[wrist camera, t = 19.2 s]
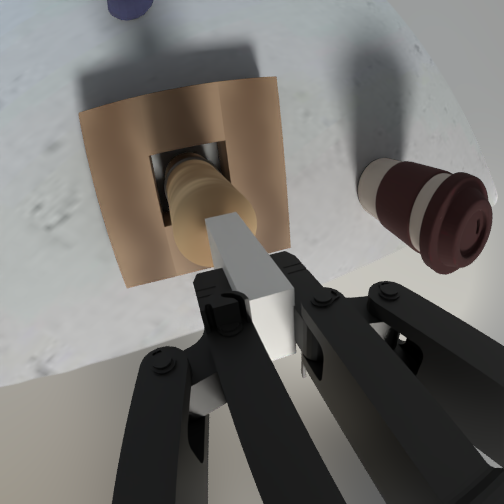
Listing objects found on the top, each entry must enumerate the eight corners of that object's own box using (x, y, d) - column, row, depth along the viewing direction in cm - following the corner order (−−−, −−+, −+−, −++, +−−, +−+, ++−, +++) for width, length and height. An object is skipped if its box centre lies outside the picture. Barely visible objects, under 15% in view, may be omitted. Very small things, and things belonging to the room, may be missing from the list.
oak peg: (168, 204, 28) (181, 278, 16) (158, 156, 26) (161, 196, 14) (216, 193, 29) (263, 257, 17) (208, 146, 27) (254, 176, 15)
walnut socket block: (128, 267, 30) (126, 288, 27) (89, 112, 22) (78, 112, 19) (275, 231, 33) (290, 247, 30) (260, 79, 26) (276, 76, 22)
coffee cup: (336, 216, 35) (426, 281, 22) (361, 135, 31) (469, 166, 18) (392, 228, 38) (474, 284, 26) (415, 160, 35) (509, 197, 22)
